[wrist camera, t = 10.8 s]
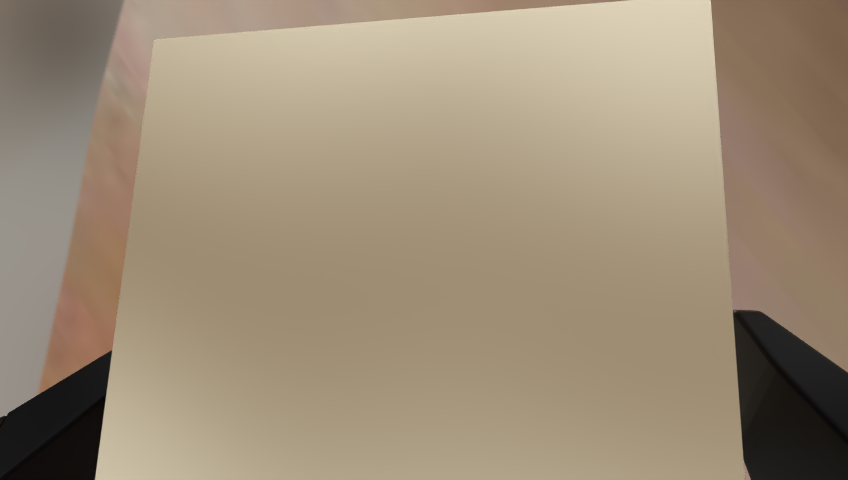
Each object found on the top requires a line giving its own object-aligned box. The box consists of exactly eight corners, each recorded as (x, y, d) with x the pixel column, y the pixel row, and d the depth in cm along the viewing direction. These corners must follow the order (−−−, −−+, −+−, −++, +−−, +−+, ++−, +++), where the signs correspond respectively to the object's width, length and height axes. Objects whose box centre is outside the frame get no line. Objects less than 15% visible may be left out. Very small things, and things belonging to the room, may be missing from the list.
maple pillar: (555, 392, 16) (763, 718, 3) (408, 383, 16) (78, 604, 4) (553, 244, 16) (710, -6, 4) (413, 243, 17) (154, 39, 5)
